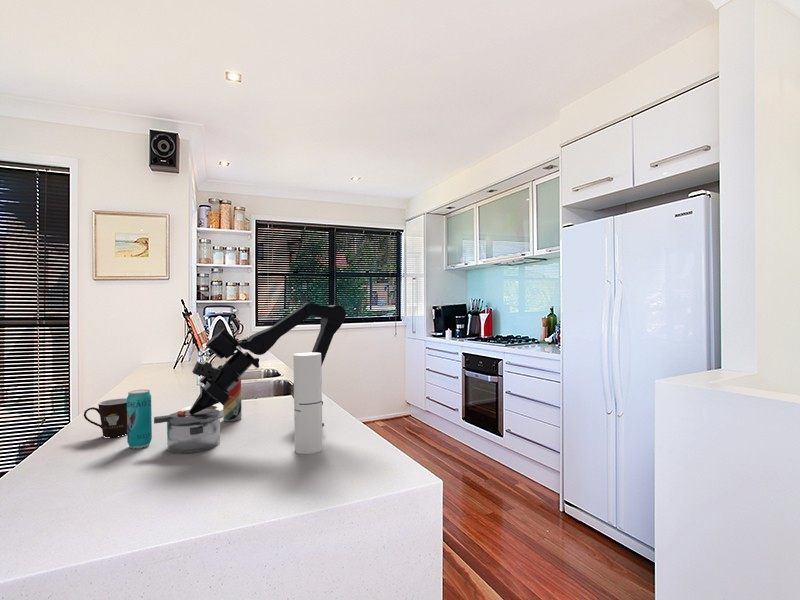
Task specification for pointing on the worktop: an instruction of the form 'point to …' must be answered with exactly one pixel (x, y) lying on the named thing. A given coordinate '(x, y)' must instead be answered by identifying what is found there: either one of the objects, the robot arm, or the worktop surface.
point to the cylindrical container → (308, 402)
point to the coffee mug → (111, 417)
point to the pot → (193, 437)
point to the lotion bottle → (233, 403)
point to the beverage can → (139, 418)
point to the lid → (189, 417)
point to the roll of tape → (216, 406)
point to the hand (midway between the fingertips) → (190, 413)
